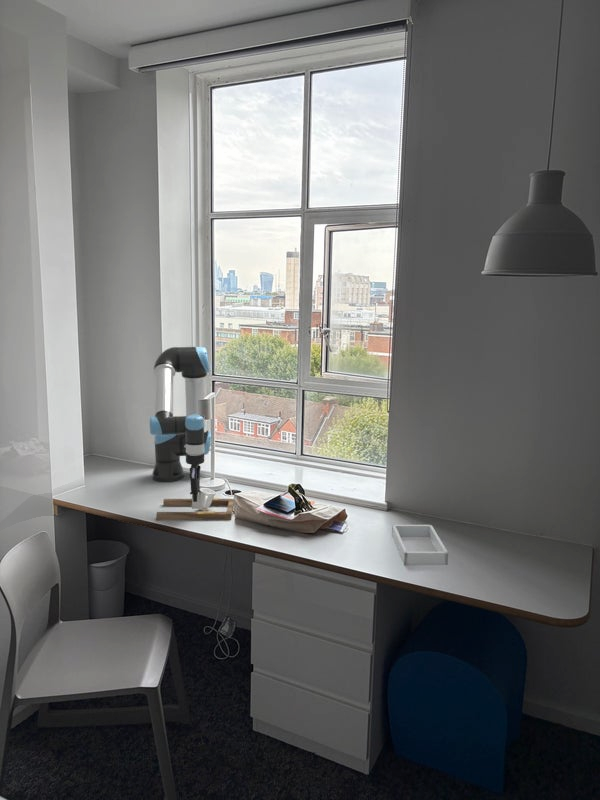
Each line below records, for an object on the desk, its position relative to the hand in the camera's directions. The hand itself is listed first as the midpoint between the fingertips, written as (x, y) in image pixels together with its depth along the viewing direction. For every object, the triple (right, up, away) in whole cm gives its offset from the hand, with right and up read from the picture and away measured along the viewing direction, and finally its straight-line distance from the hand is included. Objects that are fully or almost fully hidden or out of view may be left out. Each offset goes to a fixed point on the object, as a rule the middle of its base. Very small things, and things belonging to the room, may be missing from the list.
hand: (195, 508), depth 254 cm
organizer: (+86, -9, -33) cm, 93 cm away
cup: (+3, -1, +1) cm, 3 cm away
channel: (-1, -2, +1) cm, 2 cm away
